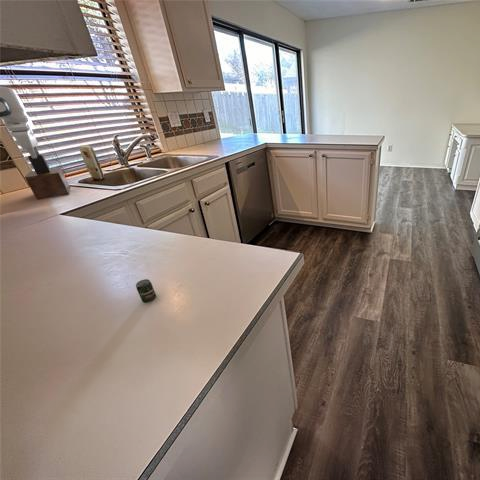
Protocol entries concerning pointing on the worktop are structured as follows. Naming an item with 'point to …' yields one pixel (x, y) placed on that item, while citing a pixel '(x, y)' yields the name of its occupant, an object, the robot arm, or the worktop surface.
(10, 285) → the worktop surface
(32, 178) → the brown wooden stand
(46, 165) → the holder
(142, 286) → the beer can
